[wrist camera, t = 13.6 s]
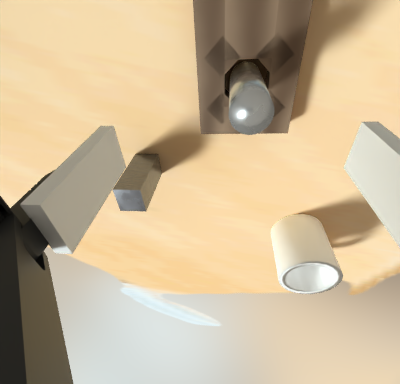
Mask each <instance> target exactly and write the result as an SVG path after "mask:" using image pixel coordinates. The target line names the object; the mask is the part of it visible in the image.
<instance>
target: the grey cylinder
mask: <svg viewBox="0 0 400 384" xmlns="http://www.w3.org/2000/svg"><path fill="white" fill-rule="evenodd" d="M273 117H274V104H273V102H272V99H271V97H270V95H269V92H268V90H267V87H266V85H265V83H264V80H263V78H262V75H261V73H260V70H259V68H258V67H257V66H256V65H255V64H254V63H252V62H248V61H246V62H241V63H239V64H238V65H236V66H235V67H234V69H233V70H232V72H231V75H230V92H229V120H230V123H231V125H232V126H233V128H234V129H235V130H237V131H238V132H240V133H242V134H246V135H252V134H257V133H259V132H261V131H263V130H264V129H266V128H267V127H268V126H269V124H270V123H271V121H272V119H273Z"/></svg>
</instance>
